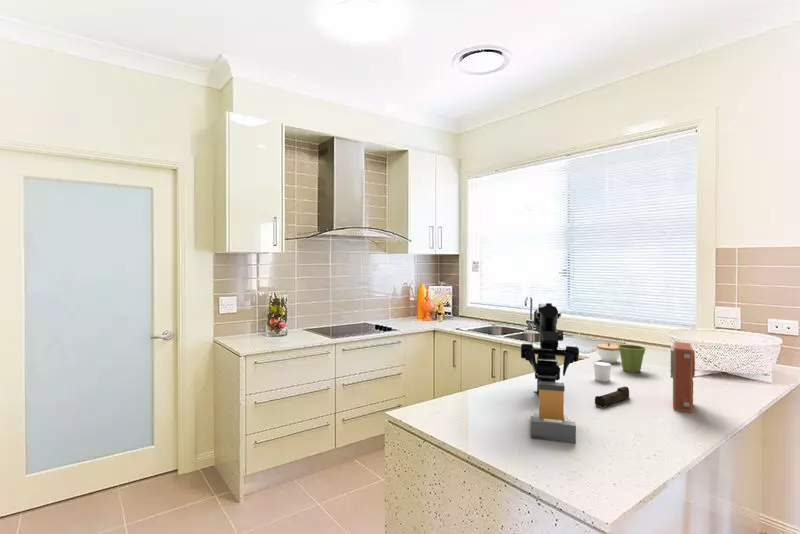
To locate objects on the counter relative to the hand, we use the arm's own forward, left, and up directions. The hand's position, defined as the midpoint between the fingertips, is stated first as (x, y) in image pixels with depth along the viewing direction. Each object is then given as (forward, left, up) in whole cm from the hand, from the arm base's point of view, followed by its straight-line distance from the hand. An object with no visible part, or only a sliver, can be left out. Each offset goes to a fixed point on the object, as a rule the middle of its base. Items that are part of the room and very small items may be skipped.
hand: (550, 374), depth 142 cm
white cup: (-19, +53, -14) cm, 58 cm away
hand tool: (+2, +31, -14) cm, 34 cm away
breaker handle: (+7, -8, -12) cm, 16 cm away
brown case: (+16, +48, -14) cm, 52 cm away
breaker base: (+10, -10, -13) cm, 19 cm away
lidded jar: (-39, +85, -14) cm, 95 cm away
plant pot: (-22, +78, -14) cm, 82 cm away
